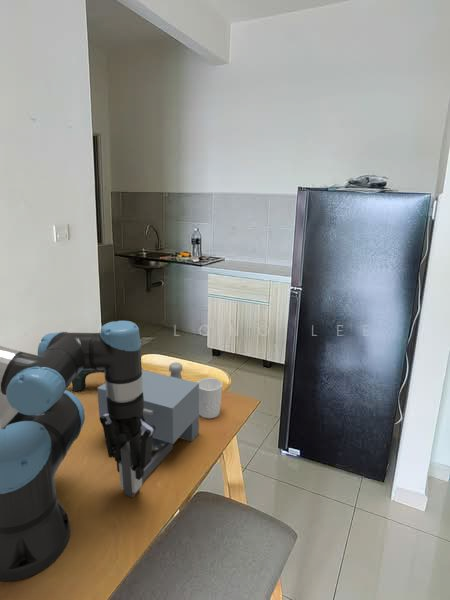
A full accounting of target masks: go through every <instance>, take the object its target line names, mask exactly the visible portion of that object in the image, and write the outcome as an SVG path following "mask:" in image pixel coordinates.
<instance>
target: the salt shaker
mask: <svg viewBox="0 0 450 600" xmlns="http://www.w3.org/2000/svg"><path fill="white" fill-rule="evenodd" d="M168 371H169V372H170V375H169V376H171V377H175V378H179V379H182V371H183V365H182V363H180V362H176V361H175V362H171V363H170V364H169V367H168Z"/></svg>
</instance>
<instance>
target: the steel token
mask: <svg viewBox="0 0 450 600" xmlns="http://www.w3.org/2000/svg"><path fill="white" fill-rule="evenodd" d="M166 443H167V442H165V441H162V440H159V439H156V438H153V440H152V452H158V451H159V450H160V449H161V448H162V447H163V446H164V445H165V444H166Z"/></svg>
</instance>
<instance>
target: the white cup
mask: <svg viewBox="0 0 450 600" xmlns="http://www.w3.org/2000/svg"><path fill="white" fill-rule="evenodd" d="M196 383H199V417H201V418H204V419H214V418H217V417H218V416H219V415H220V413H221V406H222V405H221V404H222V393H223V382H222V381H221V380H220V379H218V378H214V377H205V378H201V379H199V380H198V381H197V382H196Z"/></svg>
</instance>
